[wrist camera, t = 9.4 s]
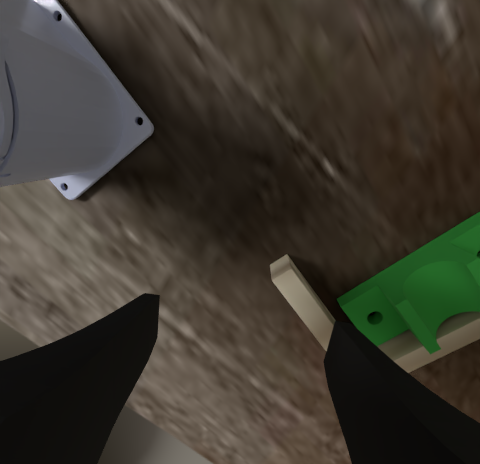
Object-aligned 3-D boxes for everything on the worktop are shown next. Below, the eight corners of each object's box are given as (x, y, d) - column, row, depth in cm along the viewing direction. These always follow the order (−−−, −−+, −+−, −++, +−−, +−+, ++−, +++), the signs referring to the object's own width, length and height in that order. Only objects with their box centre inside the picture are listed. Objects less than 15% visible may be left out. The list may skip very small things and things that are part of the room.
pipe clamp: (531, 225, 15) (564, 286, 16) (478, 210, 19) (508, 260, 20) (351, 330, 18) (389, 377, 19) (335, 299, 21) (367, 340, 22)
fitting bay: (264, 268, 21) (265, 284, 18) (544, 89, 16) (593, 80, 14) (344, 372, 23) (354, 398, 21) (606, 240, 19) (656, 254, 17)
